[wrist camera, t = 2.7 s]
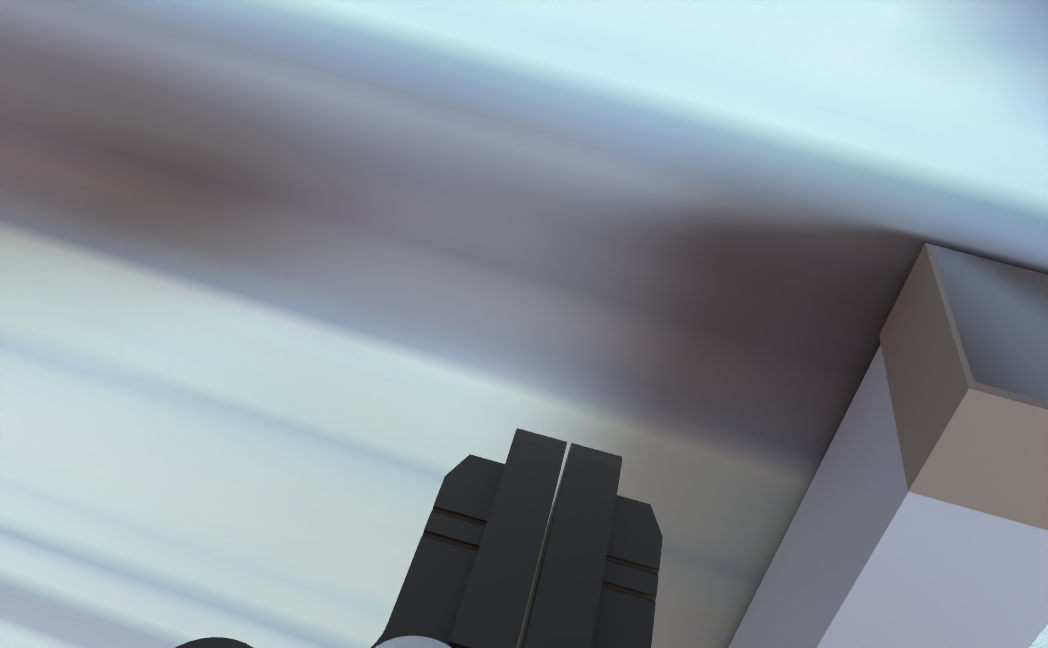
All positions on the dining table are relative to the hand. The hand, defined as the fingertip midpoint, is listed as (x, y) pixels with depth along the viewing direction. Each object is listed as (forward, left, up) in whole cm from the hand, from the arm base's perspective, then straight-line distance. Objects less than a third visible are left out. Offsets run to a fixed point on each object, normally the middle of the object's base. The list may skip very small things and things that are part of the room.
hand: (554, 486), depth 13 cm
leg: (-7, +5, -6) cm, 10 cm away
